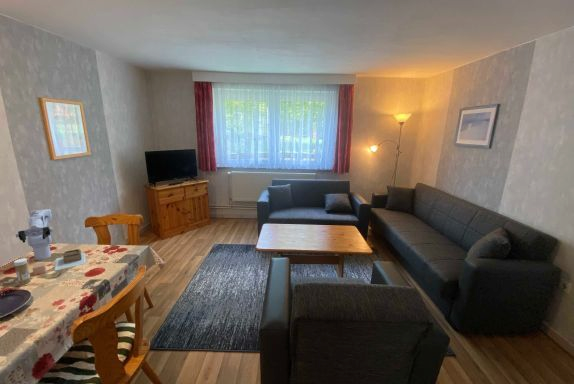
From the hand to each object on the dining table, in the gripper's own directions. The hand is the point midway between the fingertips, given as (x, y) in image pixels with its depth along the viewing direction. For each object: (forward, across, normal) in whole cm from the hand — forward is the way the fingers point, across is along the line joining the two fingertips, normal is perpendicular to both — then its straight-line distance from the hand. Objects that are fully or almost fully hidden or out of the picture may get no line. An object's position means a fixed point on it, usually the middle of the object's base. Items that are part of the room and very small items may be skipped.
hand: (33, 239), depth 135 cm
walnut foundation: (-4, +14, +20) cm, 25 cm away
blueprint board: (-2, +13, +20) cm, 24 cm away
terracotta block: (+4, 0, +20) cm, 20 cm away
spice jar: (+13, -5, +18) cm, 23 cm away
